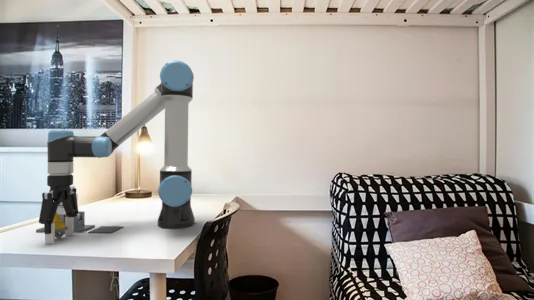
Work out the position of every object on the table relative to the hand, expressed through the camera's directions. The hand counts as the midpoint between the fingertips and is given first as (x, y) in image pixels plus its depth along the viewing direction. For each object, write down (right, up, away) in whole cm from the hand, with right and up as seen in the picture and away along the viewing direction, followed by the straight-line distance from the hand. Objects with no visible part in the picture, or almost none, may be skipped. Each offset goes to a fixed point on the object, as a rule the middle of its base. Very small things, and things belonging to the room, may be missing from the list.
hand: (59, 238), depth 107 cm
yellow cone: (0, 0, 0) cm, 0 cm away
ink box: (-19, -1, +32) cm, 37 cm away
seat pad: (+10, 0, +13) cm, 16 cm away
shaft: (-8, +3, +13) cm, 16 cm away
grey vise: (-6, 0, +13) cm, 15 cm away
